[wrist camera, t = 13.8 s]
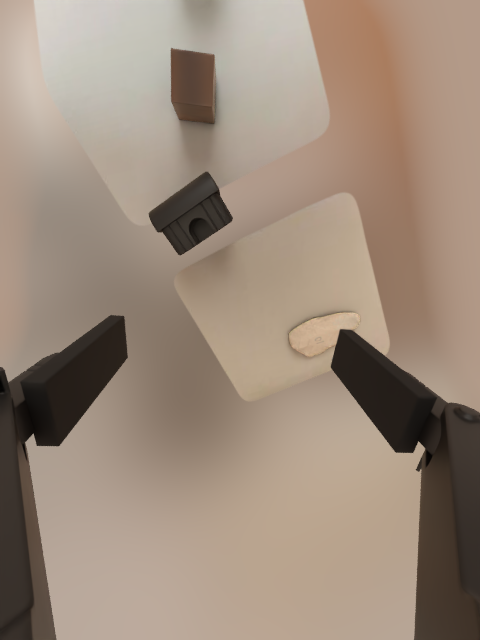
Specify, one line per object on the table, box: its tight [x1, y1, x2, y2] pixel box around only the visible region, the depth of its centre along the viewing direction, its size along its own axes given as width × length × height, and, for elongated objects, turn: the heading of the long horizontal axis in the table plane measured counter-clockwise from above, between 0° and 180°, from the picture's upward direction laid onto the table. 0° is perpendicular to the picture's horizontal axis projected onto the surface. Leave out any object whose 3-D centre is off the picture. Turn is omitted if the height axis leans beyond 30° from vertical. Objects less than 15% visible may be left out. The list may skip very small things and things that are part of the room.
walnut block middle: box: [171, 48, 216, 124], centre depth 31 cm, size 5×5×5 cm
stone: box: [289, 312, 360, 357], centre depth 46 cm, size 8×14×2 cm, turn 115°
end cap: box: [149, 172, 233, 255], centre depth 35 cm, size 10×7×7 cm
